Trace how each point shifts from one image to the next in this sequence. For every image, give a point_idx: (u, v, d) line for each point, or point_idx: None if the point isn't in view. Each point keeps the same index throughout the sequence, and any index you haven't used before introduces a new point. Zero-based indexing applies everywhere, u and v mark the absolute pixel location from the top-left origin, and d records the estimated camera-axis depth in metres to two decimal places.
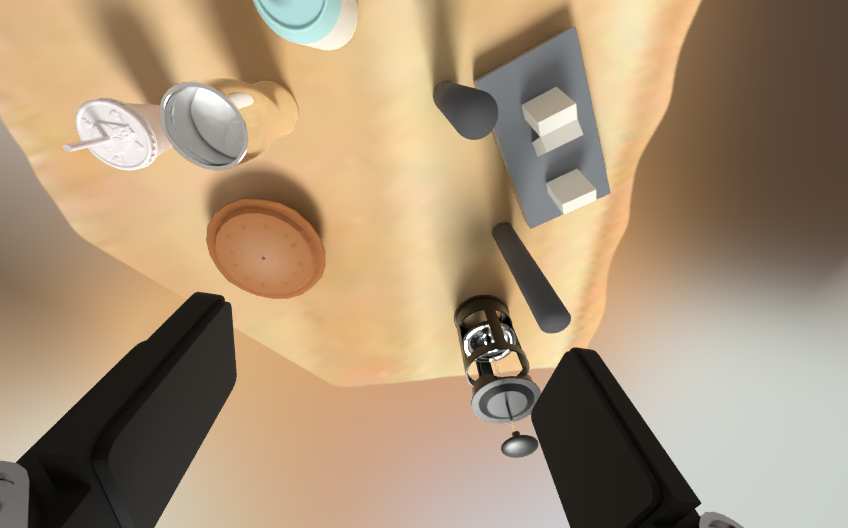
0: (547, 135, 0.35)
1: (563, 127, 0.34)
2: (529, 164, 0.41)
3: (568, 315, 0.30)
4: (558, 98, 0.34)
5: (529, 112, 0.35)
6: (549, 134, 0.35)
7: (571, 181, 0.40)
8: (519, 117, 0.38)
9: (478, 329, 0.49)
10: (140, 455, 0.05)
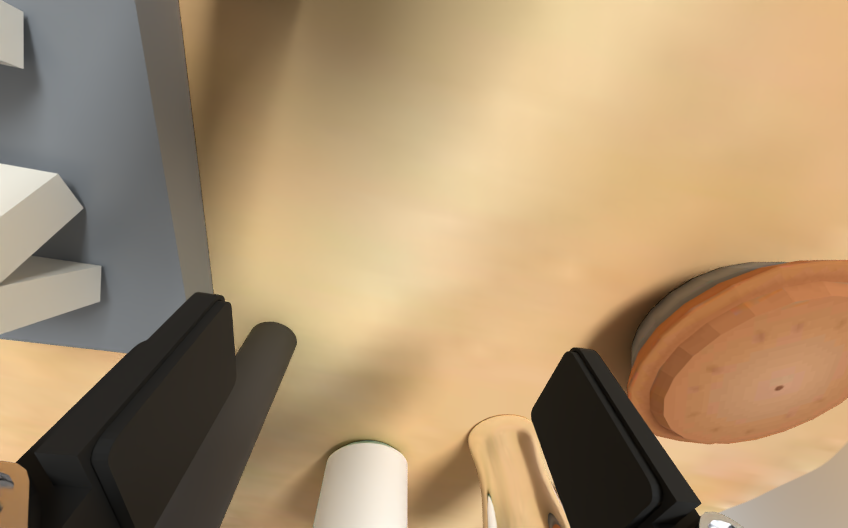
0: None
1: None
2: (98, 155, 0.13)
3: None
4: None
5: (57, 314, 0.14)
6: None
7: None
8: (116, 272, 0.16)
9: None
10: (140, 455, 0.05)
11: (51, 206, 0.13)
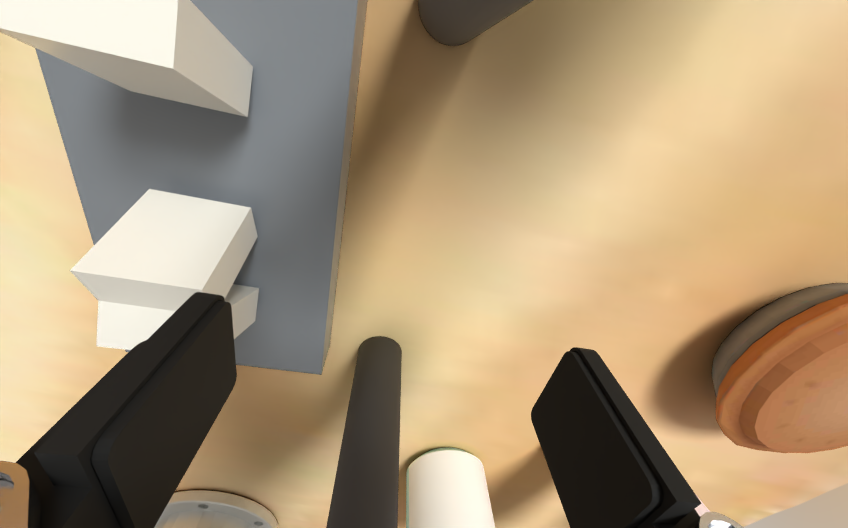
0: None
1: (142, 304, 0.12)
2: (282, 189, 0.14)
3: None
4: None
5: None
6: None
7: (144, 85, 0.10)
8: (269, 293, 0.17)
9: None
10: (140, 455, 0.05)
11: (245, 237, 0.14)
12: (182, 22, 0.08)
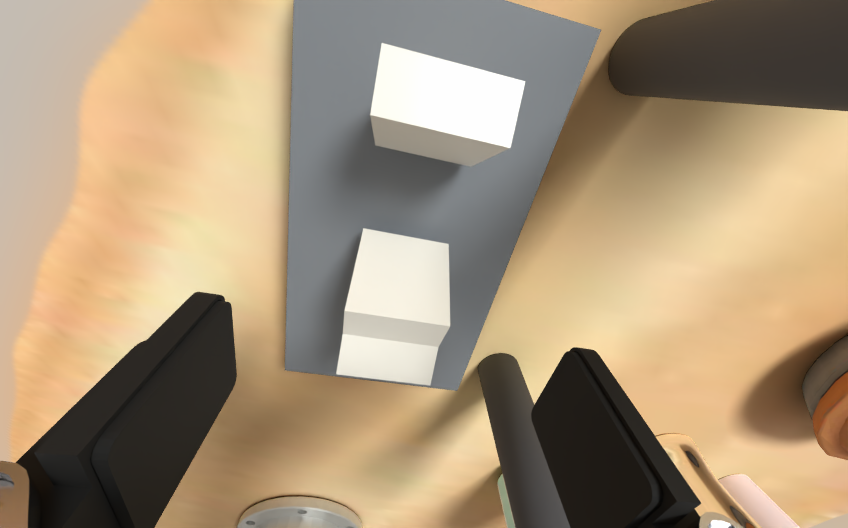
0: (423, 342, 0.14)
1: (381, 336, 0.13)
2: (471, 226, 0.16)
3: None
4: None
5: None
6: (417, 342, 0.13)
7: (416, 146, 0.12)
8: None
9: None
10: (140, 455, 0.05)
11: None
12: None
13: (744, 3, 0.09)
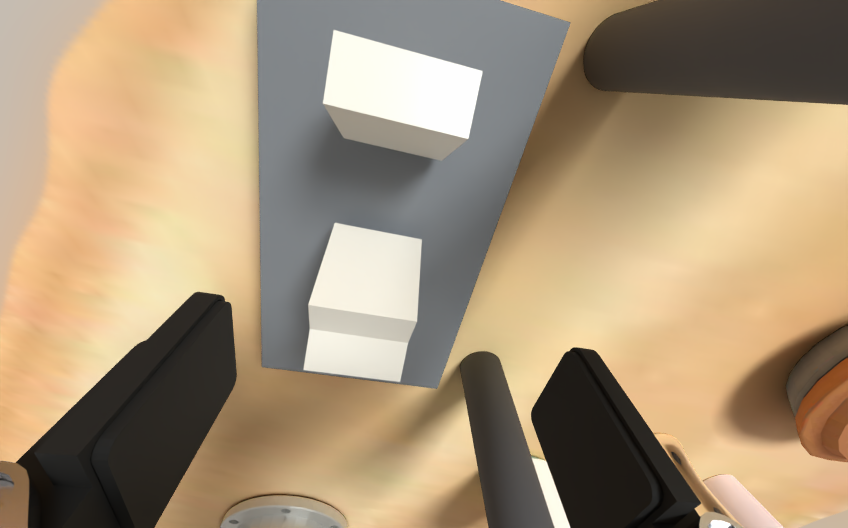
0: (391, 338, 0.13)
1: (349, 332, 0.13)
2: (445, 222, 0.16)
3: None
4: None
5: None
6: (386, 337, 0.13)
7: (381, 138, 0.11)
8: None
9: None
10: (140, 455, 0.05)
11: None
12: None
13: None
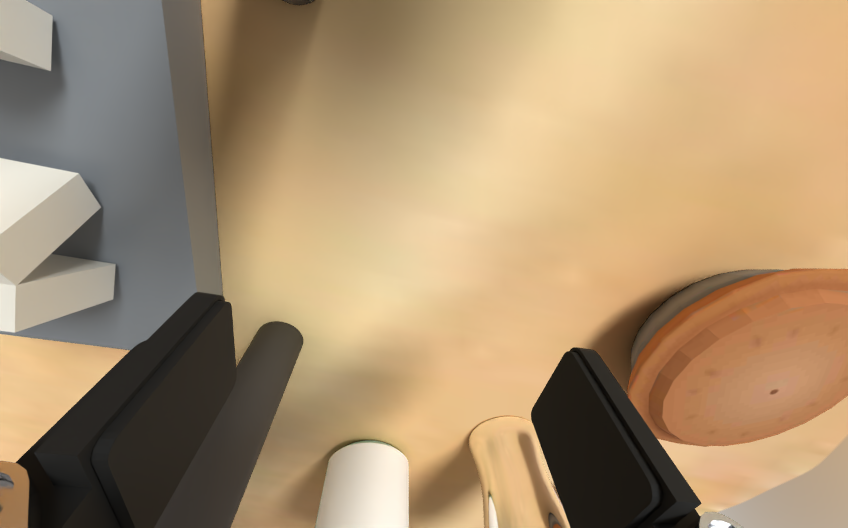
0: None
1: None
2: (118, 156, 0.14)
3: None
4: None
5: (73, 311, 0.14)
6: None
7: None
8: (130, 270, 0.16)
9: None
10: (140, 455, 0.05)
11: (71, 205, 0.13)
12: None
13: None
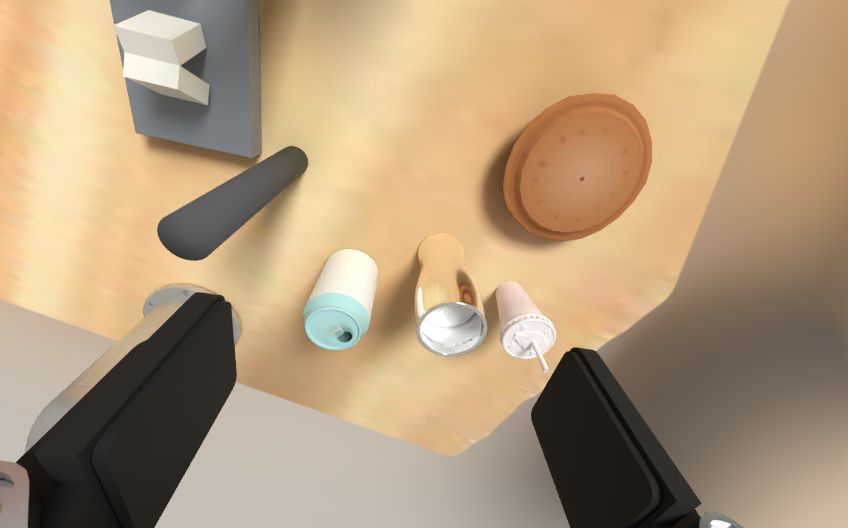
0: (169, 60, 0.26)
1: (145, 54, 0.25)
2: (217, 17, 0.28)
3: None
4: (153, 88, 0.28)
5: (194, 98, 0.29)
6: (166, 60, 0.26)
7: None
8: (216, 90, 0.31)
9: None
10: (140, 455, 0.05)
11: (197, 39, 0.27)
12: None
13: None
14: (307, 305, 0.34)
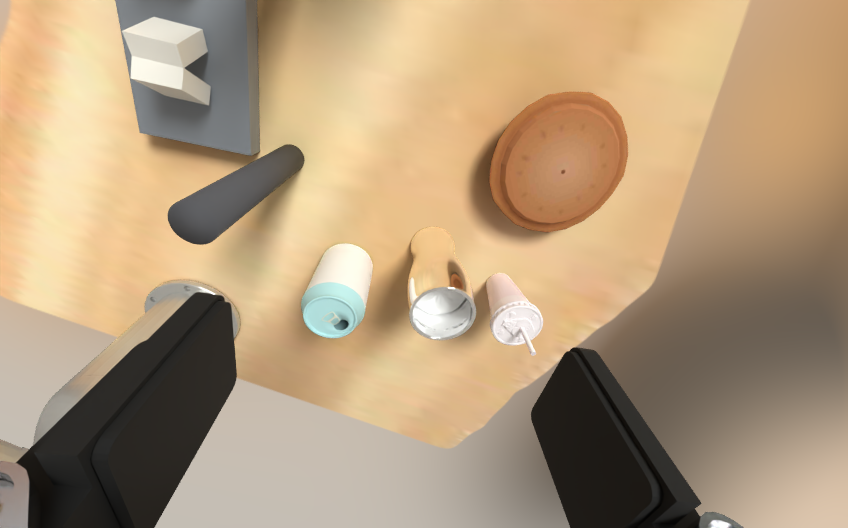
0: (173, 63, 0.28)
1: (151, 58, 0.27)
2: (218, 23, 0.30)
3: None
4: (158, 89, 0.30)
5: (196, 98, 0.30)
6: (171, 62, 0.27)
7: None
8: (216, 91, 0.32)
9: None
10: (140, 455, 0.05)
11: (199, 43, 0.29)
12: None
13: None
14: (305, 295, 0.35)
